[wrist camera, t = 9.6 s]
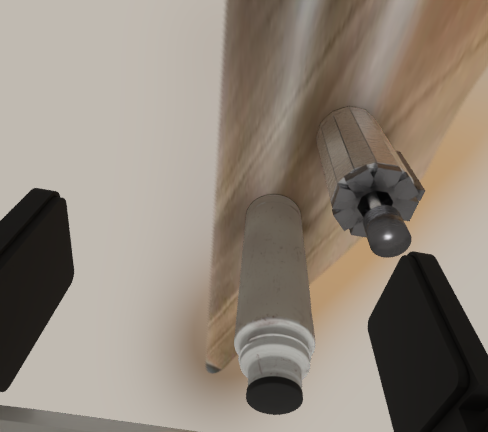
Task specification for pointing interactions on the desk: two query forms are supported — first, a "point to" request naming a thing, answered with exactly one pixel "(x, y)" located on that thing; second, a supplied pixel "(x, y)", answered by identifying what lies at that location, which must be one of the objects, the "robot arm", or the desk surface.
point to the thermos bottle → (274, 307)
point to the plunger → (385, 228)
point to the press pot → (363, 168)
